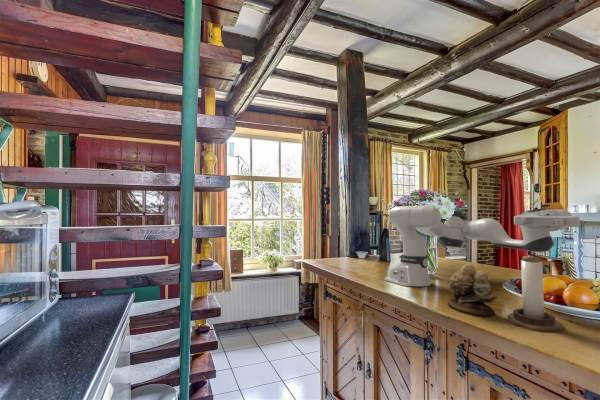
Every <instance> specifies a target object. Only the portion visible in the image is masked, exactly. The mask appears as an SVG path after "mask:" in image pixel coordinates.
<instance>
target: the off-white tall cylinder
mask: <svg viewBox="0 0 600 400" xmlns="http://www.w3.org/2000/svg"><path fill="white" fill-rule="evenodd" d="M520 270H521V271H520V273H521V293H522V294H521V295H522V298H521V299H522V300H521V301H522V308H523V315H524V316H528V317H532V318H540V319H544V312H545V299H544V298H545V297H544V294H545V293H544V277H543V276H544V273H543V261H541V257H537V256H527V255H526V256H525V255H524V256H522V259H521V260H520Z"/></svg>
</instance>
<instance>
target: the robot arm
mask: <svg viewBox="0 0 600 400" xmlns="http://www.w3.org/2000/svg"><path fill="white" fill-rule="evenodd" d="M454 210H455V211H454V214H453V215H452V217H451V218H449V219H448V220H447V221H445V223H444V224H443V223H442V213H441V212H440V209H439V208H437V207H436V206H431V205H399V206H395V207H392V208H391V209H390V210H389V213H388V221H389V222H390V224H391V225H392V226H393V227H394V228H396V229H397V231H398V232H399V235H400V237H401V241H402V242H401V243H402V254H401V255H399V256H398V259H400V260H399V262H397V263H396V264H395V265H394V266H392V267H391V268H390V271H389V275H388V276H387V277H384V280H385V281H386V282H390V283H394V284H397V285H400V286H404V287H428V286H430V285H432V282H431V280H430V275H429V269H428V264H429V257H428V255H427V240H426V238H425V237H423V236H422V235H421V234H424V235H426V236H430V237H438V239H437V241H438V242H440V244H441V245H442V246H443V247H444V248H446V249H449V250H459V249H461V248H462V247H463V244H464V237H465V238H466V239H469V240H474V241H489V242H491V243H492V244H493V245H494V246H496V247H501V248H505V249H506V248H509V249H514V250H515V249H516V250H521V251H522V250H523V251H528V252H533V253H546V252H550V250H552V248H553V246H554V244H555V242H554V240H553V238H552V237H553V236H552V235H551V232H558V231H562V230H566V229H568V228H570V227H571V228H574V227H575V228H577V227H580V225H581V223H584V222H585V220H584V219H580V218H581V217H580V216H576V215H575V216H574V215H573V214H572V213H571V212H570V211H568V210H565V209H562V208H561V209H560V208H559V209H558V208H557V209H556V208H555V209H553V208H552V209H551V208H550V209H546V208H534V209H528V210H525V211H523V212H522V213H521V214H518V215H515V216H513V225H514V226H519V227H520V230H521V233H522V238H523V239H513V238H512V237H510V236H509V235H508V234H507V232H506V231H505V229H504V227H503V225H502V224H501V223H500V222H499V221H497V220H496V219H494V218H489V217H488V218H486V217H485V218H480V219H479V218H478V219H474V220H468V217H467V216H466V215H465V214H464V213H463V212H461V211H460V210H456V209H454ZM417 231H418V232H420V233H421V234H419V233H418V232H417Z"/></svg>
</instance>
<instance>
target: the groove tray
mask: <svg viewBox="0 0 600 400" xmlns="http://www.w3.org/2000/svg"><path fill="white" fill-rule="evenodd" d="M507 321H508V322H509V323H510V324H513V325H514V326H517V327H520V328H523V329H526V330H531V331H535V332H543V333H544V332H545V333H556V332H561V331H562V330H563V324H562V322H560V321H558V320H557V319H556V316H554V315H553V314H552V313H549V312H547V311H544V319H540V318H532V317H528V316H524V315H523V307H522V308H515V309H514V310H512V313H508V314H507Z"/></svg>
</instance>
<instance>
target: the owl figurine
mask: <svg viewBox="0 0 600 400" xmlns="http://www.w3.org/2000/svg"><path fill="white" fill-rule="evenodd" d="M449 288H450V291H451V293H452V294H453V296H454V298H450V300H448V301H447V306H448V307H449V309H452V310H453V311H456V312H459V313H462V314H465V315H469V316H475V317H486V318H487V317H490V316H495V315H496V311H495V310H494V309H493V308H492V307H491V306H490V305H488V304H486V303H493V302H494V300H495V299H498V296H497V295H495V294H492V292H493V290H492V289H493V288H492V285H491V284H490V281H489V274H488V273H487V272H485V271H483V270H477V271H476V267H475V266H474V265H473V264H471V263H466V264H464V265H463V266H461V268H460V269H457V270H456V271H455V272H454V273H453V275H452V276H451V277H449Z"/></svg>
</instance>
